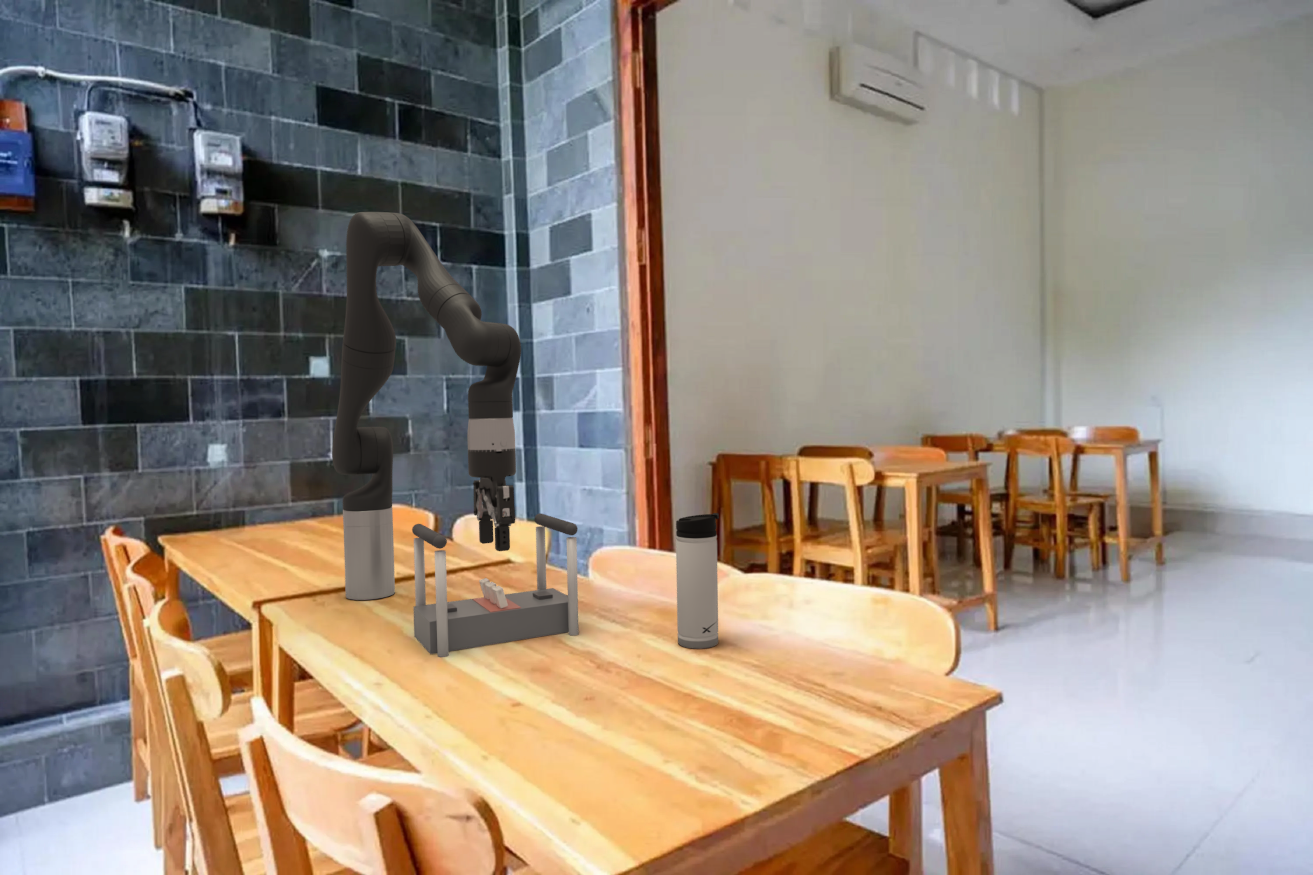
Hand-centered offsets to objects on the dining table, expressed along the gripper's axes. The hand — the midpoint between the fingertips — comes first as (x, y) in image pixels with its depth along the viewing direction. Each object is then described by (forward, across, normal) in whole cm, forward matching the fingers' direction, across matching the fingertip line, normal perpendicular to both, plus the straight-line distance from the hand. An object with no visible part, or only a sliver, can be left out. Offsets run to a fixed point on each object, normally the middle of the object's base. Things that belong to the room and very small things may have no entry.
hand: (494, 546), depth 132 cm
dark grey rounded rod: (-2, 0, -10) cm, 11 cm away
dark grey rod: (-2, 0, +11) cm, 11 cm away
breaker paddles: (+9, 0, 0) cm, 9 cm away
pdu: (+14, 0, 0) cm, 14 cm away
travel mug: (+14, +22, +25) cm, 36 cm away
